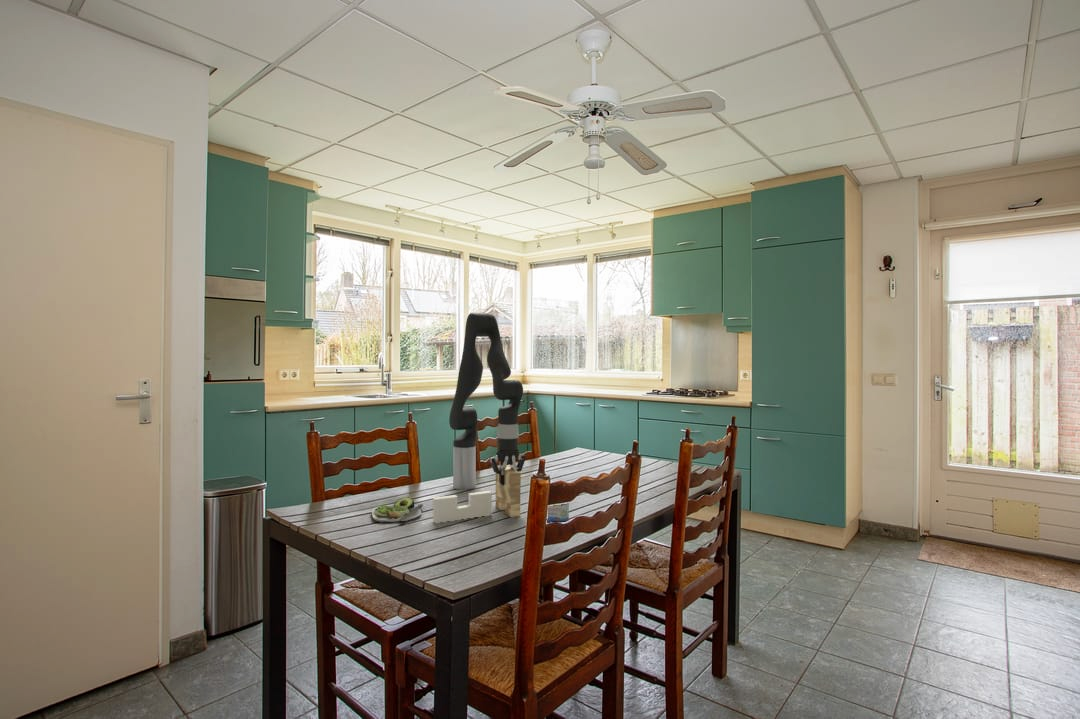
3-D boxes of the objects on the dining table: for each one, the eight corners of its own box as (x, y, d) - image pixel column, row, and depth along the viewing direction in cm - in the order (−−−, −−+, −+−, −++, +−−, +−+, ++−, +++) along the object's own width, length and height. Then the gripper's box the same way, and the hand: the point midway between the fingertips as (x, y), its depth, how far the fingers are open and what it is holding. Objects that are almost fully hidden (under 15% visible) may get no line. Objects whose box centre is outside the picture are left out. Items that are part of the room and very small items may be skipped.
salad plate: (427, 523, 180) (427, 509, 180) (371, 528, 175) (371, 514, 175) (422, 507, 199) (422, 494, 199) (371, 511, 193) (371, 498, 193)
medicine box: (545, 522, 181) (546, 496, 181) (543, 518, 186) (543, 493, 185) (569, 521, 182) (569, 495, 182) (566, 517, 187) (566, 492, 187)
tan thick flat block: (495, 506, 199) (495, 465, 198) (504, 505, 200) (504, 464, 200) (511, 517, 186) (511, 473, 186) (520, 515, 188) (520, 472, 188)
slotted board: (433, 521, 181) (433, 497, 181) (489, 513, 190) (489, 490, 190) (435, 523, 179) (435, 499, 179) (491, 515, 188) (491, 492, 188)
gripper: (521, 433, 199) (521, 479, 200) (485, 435, 193) (485, 484, 193) (530, 436, 193) (530, 484, 193) (493, 439, 186) (493, 489, 187)
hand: (507, 484), depth 193 cm, fingers closed on tan thick flat block, 3 cm apart
